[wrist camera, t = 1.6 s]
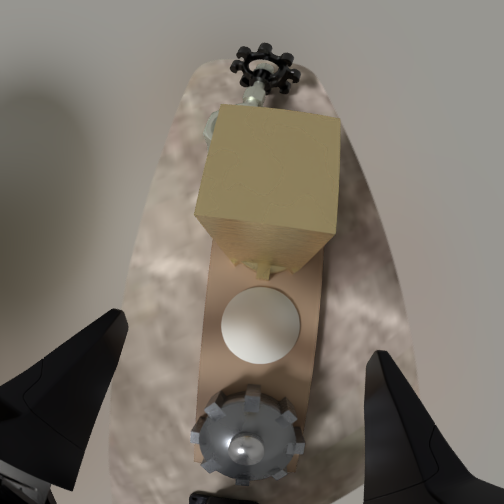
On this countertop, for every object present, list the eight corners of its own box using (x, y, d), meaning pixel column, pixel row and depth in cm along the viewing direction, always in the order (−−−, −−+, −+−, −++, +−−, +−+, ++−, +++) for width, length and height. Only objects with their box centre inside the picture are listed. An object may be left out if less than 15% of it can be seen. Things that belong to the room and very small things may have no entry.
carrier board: (294, 466, 19) (295, 473, 18) (196, 456, 20) (193, 462, 19) (323, 199, 23) (326, 194, 22) (221, 191, 24) (219, 185, 23)
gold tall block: (308, 286, 21) (360, 266, 9) (216, 273, 22) (162, 238, 10) (318, 199, 22) (362, 106, 11) (231, 187, 23) (203, 87, 11)
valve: (269, 198, 24) (298, 95, 26) (270, 161, 17) (304, 49, 19) (195, 181, 24) (235, 84, 26) (174, 143, 18) (229, 38, 20)
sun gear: (292, 469, 18) (296, 495, 15) (197, 459, 19) (186, 483, 15) (306, 387, 20) (315, 404, 16) (202, 377, 20) (189, 392, 16)
